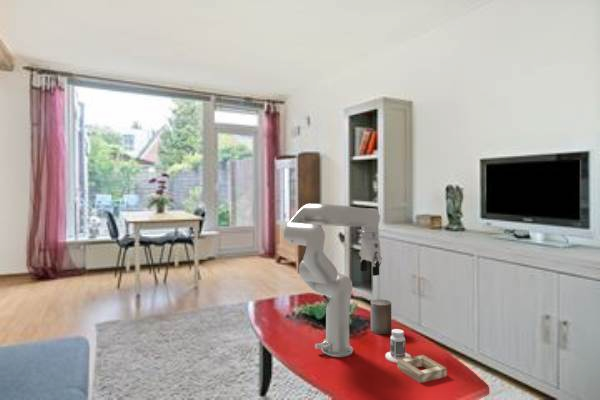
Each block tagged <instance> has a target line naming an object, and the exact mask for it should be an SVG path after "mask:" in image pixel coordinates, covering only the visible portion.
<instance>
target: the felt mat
mask: <svg viewBox="0 0 600 400" xmlns="http://www.w3.org/2000/svg"><path fill="white" fill-rule="evenodd" d="M384 355H385V356H384V357H385V359H386V360H387V361H389V362H392V363H395V364H397V362H398V360H401V359H397V358H393V357H392V356H391V354H390V351H388V352H386V353H385V354H384ZM410 357H412V356H411V354H409V353H407V352H405V357H404V358H402V359H406V358H410Z"/></svg>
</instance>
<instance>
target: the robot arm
mask: <svg viewBox="0 0 600 400" xmlns="http://www.w3.org/2000/svg"><path fill="white" fill-rule="evenodd" d="M380 219H381V215H380V212H379V210H378V209H377V208H369V207H368V208H365V207H355V206H349V205H340V204H328V203H312V202H311V203H306V204H305V205H303V206H302V207H301V208H300V209H298V211H297V212H296V213H295V214H294V215H293V217H292V218H291V219H290V220H289V221H288V223H287V224H286V226H285V227H284V230H283V236H284V237H283V238H284V240H285V241H286V242H287V243H289V244H291V245H297V246H304V247H306V248H305V252H304V254H303V259H302V260H301V261H300V263H299V266H298V273H299V276H300V278H301V280H302V281H303V282H304V283H305V284H306V285H307V286H308V287H309V288H310V289H311V290H312V291H314V292H315V293H317V294H318V295H319V294H320V295H323V296H327V297H330V299H329V301H328V303H327V304H326V308H325V338H324V339H323V341H322V342H321V343H315V344H314V347H315V349H316V350H318V349H320V350H321V351H322V352H323V354H325V355H326V356H329V357H333V358H345V357H348V356H350V355H353V352H354V347H352V346H351V345H350V305H351V295H352V291H353V282H352V280H351V278H350V277H349V276H347V275H345V274H340V273H338V269H337V267H336V266H335V264H334V263H333V262H332V260H330V259H329V257H328V256H327V255H326V254H325V252H324V246H325V238H326V235H325V234H326V233H325V231H324V229H323V228H322V226H324V227H325V226H328V227H361V240H360V241H361V242H360V250H359V251H358V256H359V257H358V258H359V262H360V272H367V271H368V262H371V263H372V276H379V275H380V267H381V264H382V261H383V257H382V255H381V254H382V253H381V243H380V239H379V224H380V221H381V220H380Z"/></svg>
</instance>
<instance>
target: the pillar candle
mask: <svg viewBox="0 0 600 400" xmlns="http://www.w3.org/2000/svg"><path fill="white" fill-rule="evenodd" d="M370 331H371V332H372V331H373V332H374V334H377V335H390V334H392V302H391V300H387V299H382V298H381V299H378V298H377V299H372V300H371V301H370ZM373 332H372V333H373Z"/></svg>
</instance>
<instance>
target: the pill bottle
mask: <svg viewBox="0 0 600 400" xmlns="http://www.w3.org/2000/svg"><path fill="white" fill-rule="evenodd" d="M391 331H392V332H391V335H390V339H389V340H390V348H389V349H390V351H389V352H390V354H391V356H392V357H393V358H397V359H402V358H404V357H405V353H406V338H405V336H404V335H405V331H404V330H402V329H399V328H394V329H391Z"/></svg>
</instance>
